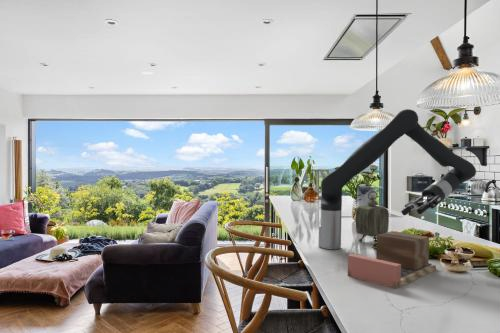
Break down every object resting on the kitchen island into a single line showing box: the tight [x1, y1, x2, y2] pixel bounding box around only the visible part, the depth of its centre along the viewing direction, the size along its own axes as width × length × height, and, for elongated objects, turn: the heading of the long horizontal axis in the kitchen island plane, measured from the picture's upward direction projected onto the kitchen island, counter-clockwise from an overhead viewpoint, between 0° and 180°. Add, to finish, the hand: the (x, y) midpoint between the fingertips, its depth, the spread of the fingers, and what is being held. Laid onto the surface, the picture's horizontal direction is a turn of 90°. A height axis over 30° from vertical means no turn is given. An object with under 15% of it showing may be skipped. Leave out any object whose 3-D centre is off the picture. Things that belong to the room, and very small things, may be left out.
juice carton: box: [356, 183, 377, 209], centre depth 210 cm, size 9×10×27 cm
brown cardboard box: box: [375, 230, 430, 270], centre depth 137 cm, size 12×14×10 cm
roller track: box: [347, 253, 437, 289], centre depth 133 cm, size 32×17×7 cm, turn 133°
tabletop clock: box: [355, 191, 390, 243], centre depth 183 cm, size 14×9×25 cm, turn 123°
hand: (410, 212), depth 145 cm, fingers open, 8 cm apart
